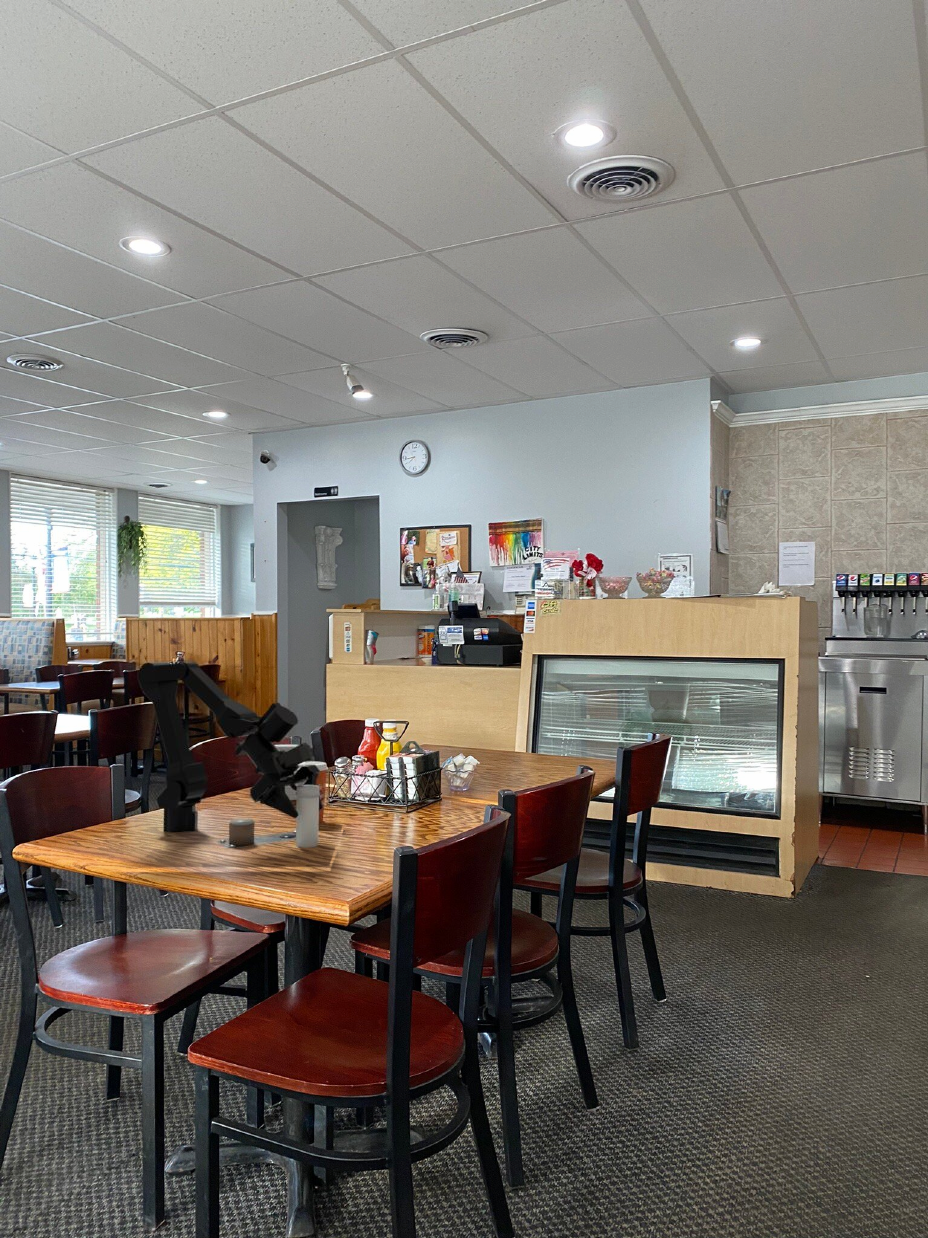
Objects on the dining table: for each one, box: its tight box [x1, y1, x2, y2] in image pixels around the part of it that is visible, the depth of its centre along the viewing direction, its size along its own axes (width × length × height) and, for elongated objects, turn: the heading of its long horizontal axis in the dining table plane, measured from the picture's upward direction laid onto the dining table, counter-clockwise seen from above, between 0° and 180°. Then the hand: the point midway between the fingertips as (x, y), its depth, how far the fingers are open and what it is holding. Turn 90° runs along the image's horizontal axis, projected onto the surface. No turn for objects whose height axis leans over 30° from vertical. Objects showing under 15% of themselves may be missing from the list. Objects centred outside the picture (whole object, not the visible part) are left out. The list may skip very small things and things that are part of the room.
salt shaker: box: [295, 785, 320, 848], centre depth 187 cm, size 5×5×13 cm
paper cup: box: [297, 761, 329, 824], centre depth 215 cm, size 8×8×14 cm
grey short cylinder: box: [228, 817, 255, 845], centre depth 188 cm, size 5×5×4 cm
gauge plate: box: [215, 830, 296, 849], centre depth 191 cm, size 19×8×1 cm, turn 125°
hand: (309, 813), depth 187 cm, fingers open, 9 cm apart
